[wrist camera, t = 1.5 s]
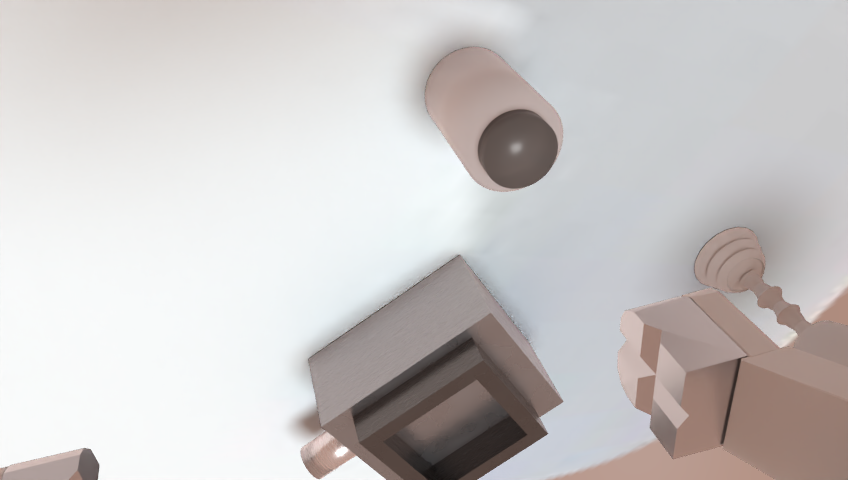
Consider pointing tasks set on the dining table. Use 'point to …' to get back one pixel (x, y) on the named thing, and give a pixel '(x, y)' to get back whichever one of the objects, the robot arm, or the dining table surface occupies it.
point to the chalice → (765, 291)
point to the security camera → (493, 119)
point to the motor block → (430, 386)
